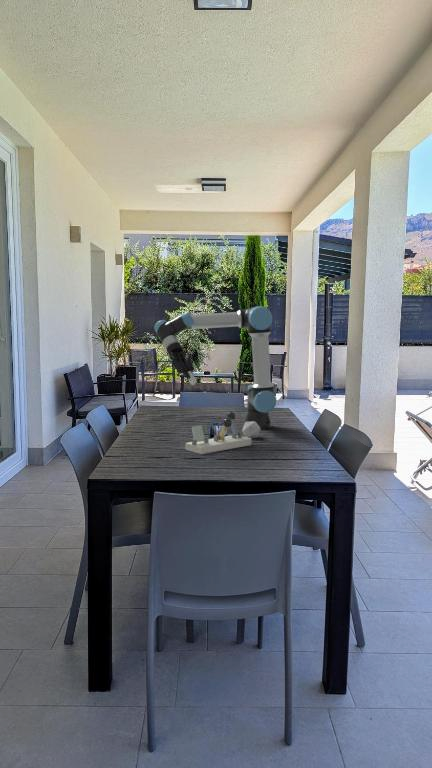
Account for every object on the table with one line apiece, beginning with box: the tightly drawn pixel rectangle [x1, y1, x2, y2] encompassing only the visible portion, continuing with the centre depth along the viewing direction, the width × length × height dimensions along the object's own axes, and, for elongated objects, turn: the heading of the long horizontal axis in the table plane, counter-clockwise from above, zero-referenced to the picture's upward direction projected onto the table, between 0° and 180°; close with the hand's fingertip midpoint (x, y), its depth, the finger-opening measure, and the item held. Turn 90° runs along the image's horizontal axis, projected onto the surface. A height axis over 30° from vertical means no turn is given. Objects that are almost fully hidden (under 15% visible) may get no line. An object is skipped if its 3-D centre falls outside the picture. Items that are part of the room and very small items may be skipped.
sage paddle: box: [190, 425, 205, 442], centre depth 244 cm, size 1×5×7 cm, turn 131°
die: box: [241, 422, 262, 439], centre depth 273 cm, size 8×9×10 cm
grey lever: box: [226, 411, 239, 436], centre depth 259 cm, size 4×4×12 cm
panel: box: [184, 431, 252, 455], centre depth 250 cm, size 11×30×5 cm, turn 130°
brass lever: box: [217, 417, 232, 440], centre depth 247 cm, size 4×4×12 cm
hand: (194, 383), depth 262 cm, fingers closed
